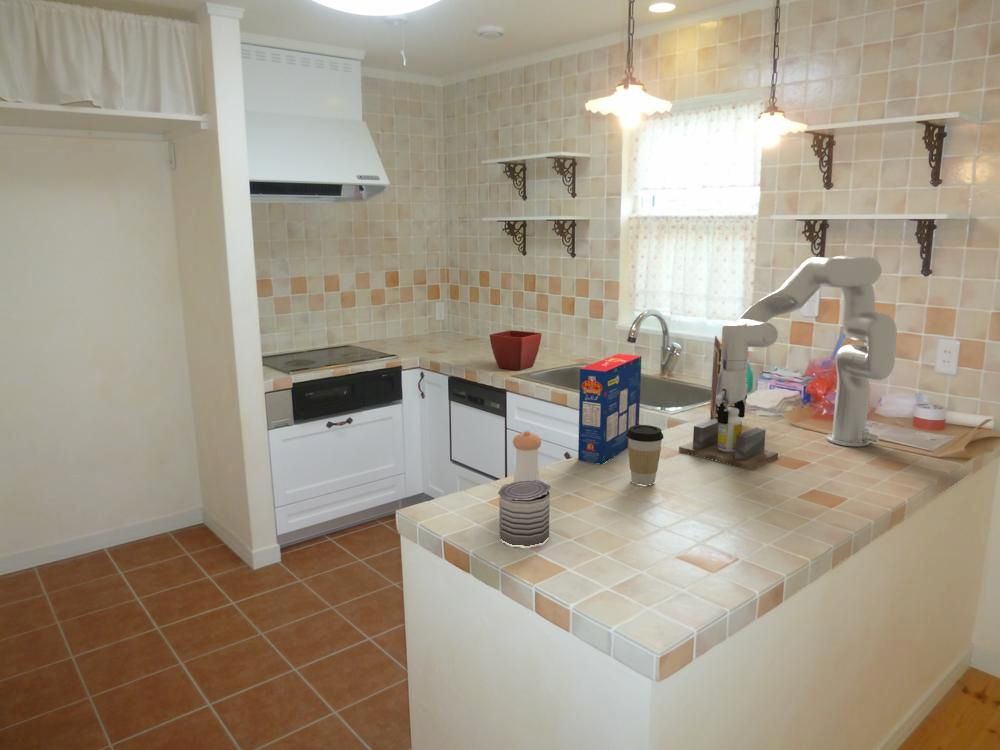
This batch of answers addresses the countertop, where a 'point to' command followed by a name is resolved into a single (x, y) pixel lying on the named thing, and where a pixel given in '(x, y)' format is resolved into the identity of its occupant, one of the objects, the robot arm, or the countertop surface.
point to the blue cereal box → (608, 406)
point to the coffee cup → (644, 452)
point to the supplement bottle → (729, 431)
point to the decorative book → (716, 378)
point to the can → (524, 512)
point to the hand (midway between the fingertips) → (731, 420)
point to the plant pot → (515, 349)
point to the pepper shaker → (526, 456)
